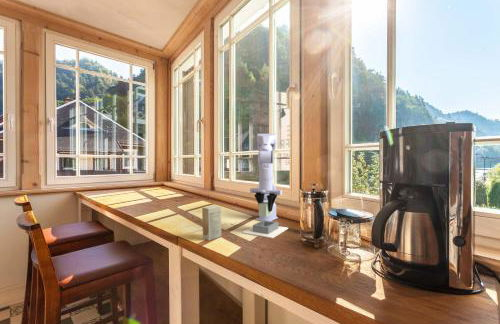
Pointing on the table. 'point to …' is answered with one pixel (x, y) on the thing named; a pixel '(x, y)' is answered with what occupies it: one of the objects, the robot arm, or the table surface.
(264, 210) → the key block
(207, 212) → the skincare box
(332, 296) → the table surface
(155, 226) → the table surface
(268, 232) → the slot holder
